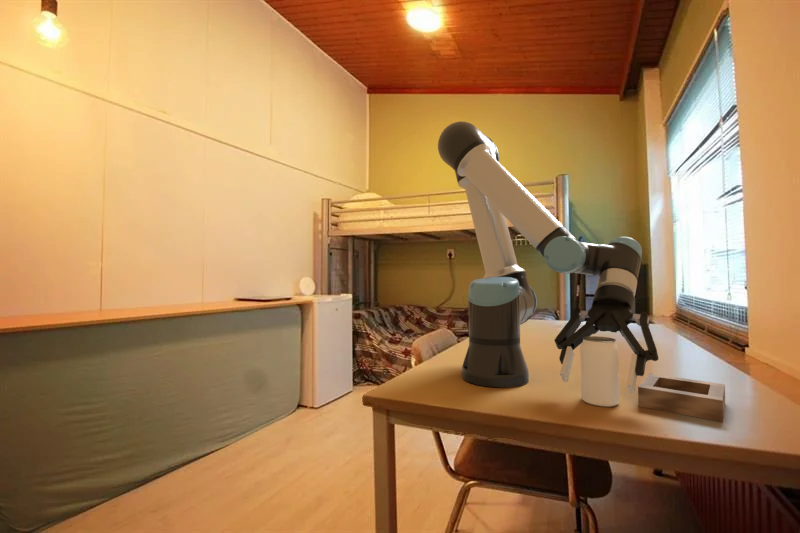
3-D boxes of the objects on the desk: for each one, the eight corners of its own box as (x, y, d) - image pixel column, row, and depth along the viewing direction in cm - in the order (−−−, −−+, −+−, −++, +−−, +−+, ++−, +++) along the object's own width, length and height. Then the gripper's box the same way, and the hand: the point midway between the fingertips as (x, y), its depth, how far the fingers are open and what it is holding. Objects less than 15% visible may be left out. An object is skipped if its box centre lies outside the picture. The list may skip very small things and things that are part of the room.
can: (624, 408, 70) (623, 342, 71) (586, 406, 72) (585, 341, 72) (612, 397, 77) (611, 336, 77) (577, 395, 78) (576, 335, 78)
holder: (638, 405, 72) (638, 386, 72) (649, 390, 81) (649, 373, 81) (722, 422, 64) (722, 400, 64) (725, 403, 73) (724, 384, 73)
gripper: (682, 309, 78) (673, 407, 66) (563, 303, 94) (539, 383, 82) (678, 283, 74) (668, 383, 62) (555, 282, 90) (528, 362, 78)
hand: (595, 383), depth 72 cm, fingers open, 11 cm apart
